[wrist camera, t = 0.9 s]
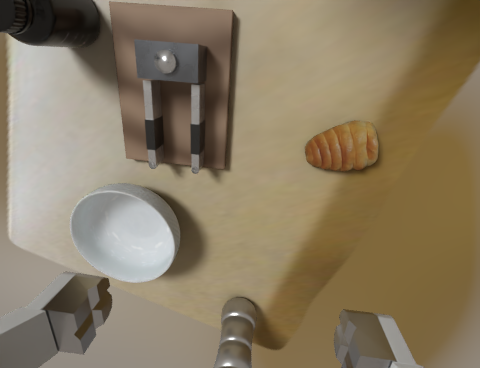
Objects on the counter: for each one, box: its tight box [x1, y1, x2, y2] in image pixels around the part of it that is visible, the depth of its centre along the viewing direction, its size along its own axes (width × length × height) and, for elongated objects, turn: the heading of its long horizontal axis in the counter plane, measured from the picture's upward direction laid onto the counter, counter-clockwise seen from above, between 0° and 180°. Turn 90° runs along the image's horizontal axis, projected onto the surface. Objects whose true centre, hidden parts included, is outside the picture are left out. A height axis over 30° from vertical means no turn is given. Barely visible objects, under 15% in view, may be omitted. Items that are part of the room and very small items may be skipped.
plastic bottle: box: [214, 297, 257, 368], centre depth 44 cm, size 6×7×20 cm
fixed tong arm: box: [143, 79, 164, 169], centre depth 36 cm, size 12×1×3 cm, turn 176°
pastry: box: [305, 121, 379, 171], centre depth 37 cm, size 9×7×4 cm
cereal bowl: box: [70, 183, 181, 283], centre depth 44 cm, size 17×17×7 cm
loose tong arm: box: [190, 83, 205, 174], centre depth 36 cm, size 12×1×3 cm, turn 176°
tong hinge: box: [134, 39, 207, 83], centre depth 32 cm, size 4×7×5 cm, turn 86°
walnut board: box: [109, 2, 234, 169], centre depth 37 cm, size 20×15×2 cm
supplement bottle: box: [0, 0, 100, 48], centre depth 29 cm, size 7×7×12 cm
